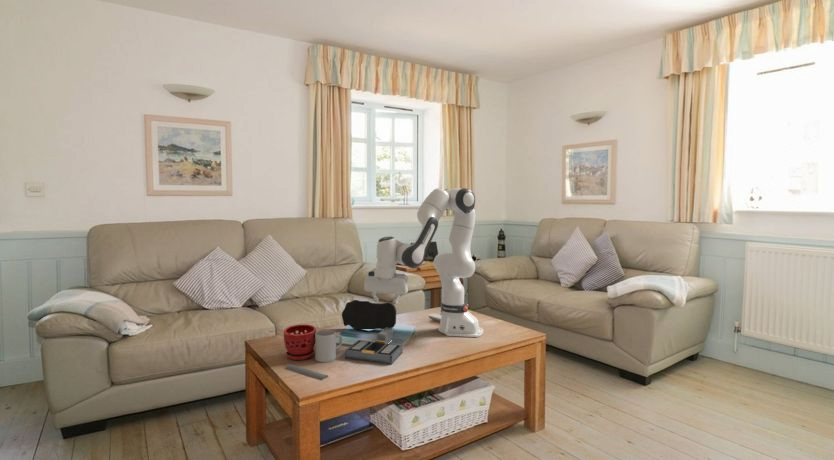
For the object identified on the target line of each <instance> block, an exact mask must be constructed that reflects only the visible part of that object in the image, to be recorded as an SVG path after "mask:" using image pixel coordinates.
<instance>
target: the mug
mask: <svg viewBox="0 0 834 460" xmlns="http://www.w3.org/2000/svg"><path fill="white" fill-rule="evenodd" d="M342 337H343V336H342V335H341V334H340V333H336V331H335V330H333V329H322V330H316V333H315V346H314V348H315V349H314V351H315V352H314V354H315V355H314V359H315V361H316V362H318V363H329V362H333V361H335V360H336V358H337V350H340V349H341V348H342V345H343V338H342ZM337 338H338V339H339V342H338V345H337Z"/></svg>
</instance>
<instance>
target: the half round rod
mask: <svg viewBox="0 0 834 460" xmlns="http://www.w3.org/2000/svg"><path fill="white" fill-rule="evenodd" d="M285 370H288V371H291V372H294V373H297V374H300V375H303V376H306V377H309V378H312V379H315V378H316V379H315V380H318V379H319V380H318V381H324V379H327V378H329V375H327V374H325V373H321V372H318V371H315V370H311V369H309V368H306V367H302V366H298V365H295V364H292V363H289V364H287V365H286V366H285Z"/></svg>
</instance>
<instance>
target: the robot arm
mask: <svg viewBox="0 0 834 460" xmlns="http://www.w3.org/2000/svg"><path fill="white" fill-rule="evenodd" d="M423 200H424V201H423V202H422V203H421V205H420V206H419V208H418V209H417V213H416V217H417V219H418V222H419V223H420V225H421V226H422V227H421V230H420V232H419V234H418V236H417V237H416V240H415V242H413V243H412V244H408V243H404V242H402V241H400V240H398V239H396V237H394V236H383V237H381V238H379V239H378V240H377V245H376V260H377V261H376V262H377V263H376V268H373V269H370V270H368V271H366V272H365V273H366V274H365V275H366V277H365V278H364V285H363V286H364V287H363V288H364V291H365V292H366V293H371V296H372V298H373V303H379V297H378V296H377V293H378V294H392V295H395V297H396V298H394V299H393V303H392V304H393V305H394V304H395V305H396V304H398V302H399V299H400V297H401V296H404V295H406V294H407V293H408V291H409V290H408V289H409V286H408V283H409V278H408V277H409V276H407V274H405V273H398V272H396V271H397V264H400V265H401V266H402V265H403V266H405V267H407V268H410V269H417V268H418V267H421V265H423V263H424V261H425V257H426V253H427V250H428V248H429V246H430V244H431V242H432V240H433V238H434V236H435V234H436V232H437V229H438V227H439V221H440V220H441V218H442V216H443V215H444V213H445V211H453V214H454V218H453V221H452V224H451V229H450V233H449V236H448V242H449V244H450V245H451V252H441V253H439V254H436V255H435V257H434V259H433V267H434V268H435V270H436V271H437V274H438V276H439V280H440V283H441V302H440V303H441V305H440V314H441V315H440V316H441V317H440V322H439V326H438V332H440V333H442V334H444V335H445V336H447V337H464V338H467V337H468V338H479V337H481V336H482V335H483V334H484V328H482V327H480V324H479V320H478V318H477V317H476V316H475V315H474V314H472V313H471V312H470V311H469V303H465V287H464V284H462V283H461V280H460V279H466V278H471V277H472V276H473V275H474V273H475V271H476V262H475V261H474V259H473V258H472V257H473V256H472V253H471V251H472V250H471V246H472V244H471V243H472V238H473V235H474V230H475V225H476V215H477V214H476V210H475V205H476V195H475V193H474V192H473V190H471V189H469V188H464V187H463V188H462V187H461V188H460V187H455V188H447V189H443V188H439V187H437V188H435V189H433V190H432V191H431V192H430V193H428V195H427V196H426V197H425V198H424V199H423Z"/></svg>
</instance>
